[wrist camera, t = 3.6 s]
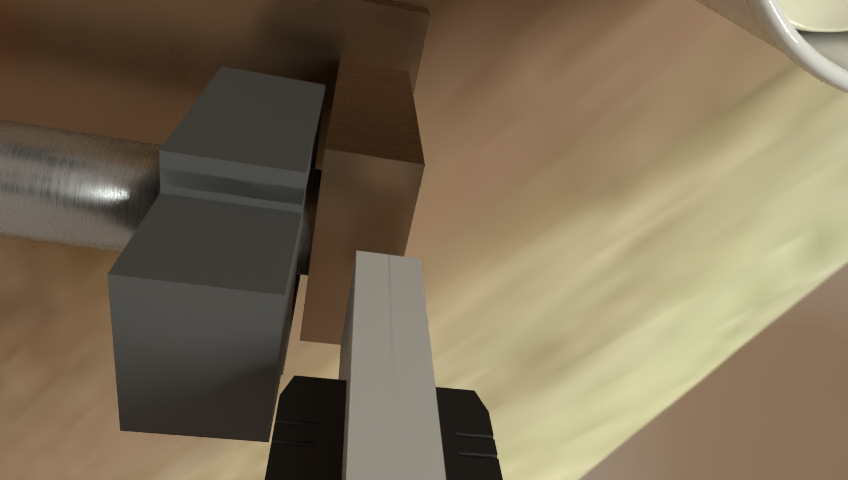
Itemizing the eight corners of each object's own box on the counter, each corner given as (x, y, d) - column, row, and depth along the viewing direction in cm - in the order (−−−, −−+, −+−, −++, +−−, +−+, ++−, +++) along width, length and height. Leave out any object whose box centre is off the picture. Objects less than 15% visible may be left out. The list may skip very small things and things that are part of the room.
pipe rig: (-369, -157, 17) (-939, -170, 10) (427, 8, 21) (456, 88, 13) (-241, 163, 22) (-549, 314, 15) (379, 247, 26) (381, 400, 18)
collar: (221, 65, 17) (104, 224, 10) (325, 84, 18) (289, 249, 10) (216, 239, 20) (122, 461, 13) (304, 250, 21) (265, 471, 13)
